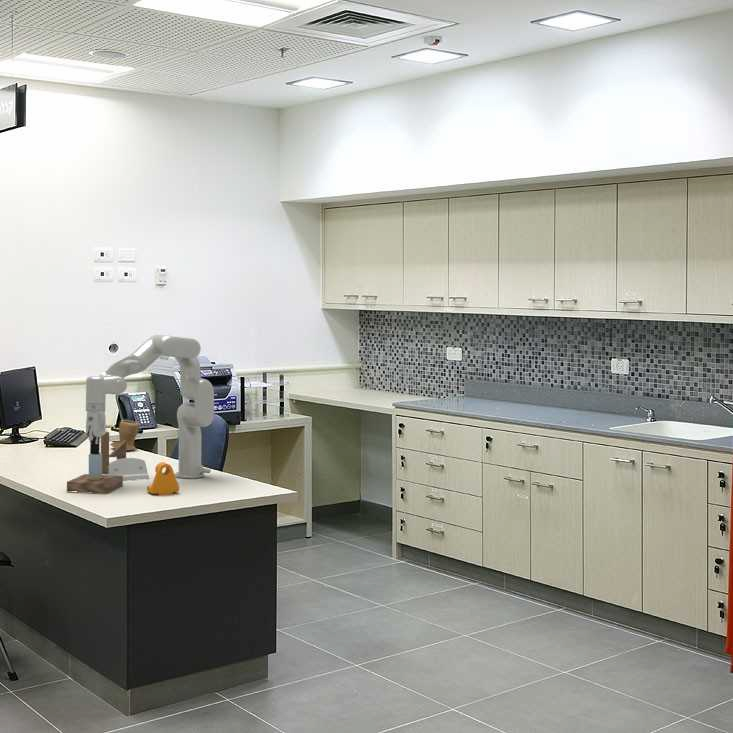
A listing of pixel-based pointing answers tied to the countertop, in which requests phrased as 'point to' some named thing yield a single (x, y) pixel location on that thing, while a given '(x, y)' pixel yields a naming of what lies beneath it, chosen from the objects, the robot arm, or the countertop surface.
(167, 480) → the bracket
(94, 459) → the peg
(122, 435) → the brown flared piece
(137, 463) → the hinge
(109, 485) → the board
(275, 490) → the countertop surface
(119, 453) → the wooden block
